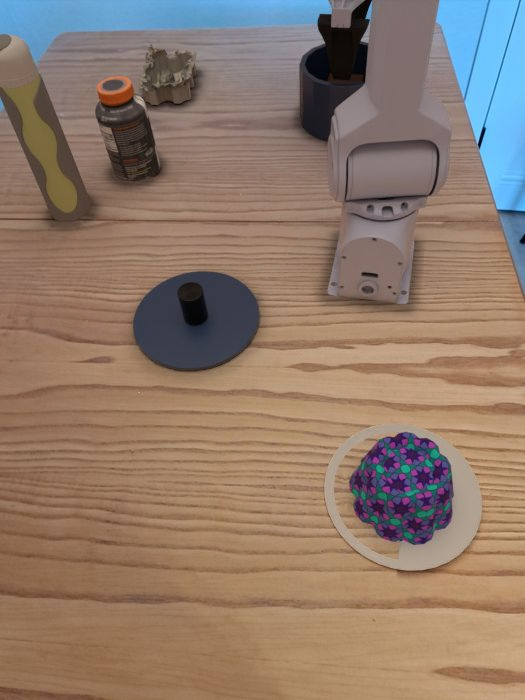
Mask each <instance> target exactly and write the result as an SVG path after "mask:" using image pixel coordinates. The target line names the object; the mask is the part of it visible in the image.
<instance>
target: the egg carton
mask: <svg viewBox="0 0 525 700" xmlns="http://www.w3.org/2000/svg"><path fill="white" fill-rule="evenodd" d="M174 54H175V55H168V53H167V51H166V49H165V48H162V47H159V48H158V47H157V48H155V47H153V44H149V45H148V47H147V49H146V52H145V57H144V58H145V62H144V64H143V65H142V70H141V74H140V77H139V90H140V91H141V90H142V92H143V95H144V102H145V103H149V104H150V105H151V106H159V105H160V104H161V103H164V102H173V104H177V105H178V104H182V103H184V102H186V101H190V100H191V99H192V92H191V88H194V86H195V82H194V77H195V76H197V68H196V62H197V61H196V60H197V51H195V50H193V51H189V50H187V49H186V50H185V52H181V51H179V50H175V52H174Z"/></svg>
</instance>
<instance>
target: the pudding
mask: <svg viewBox="0 0 525 700" xmlns="http://www.w3.org/2000/svg"><path fill="white" fill-rule="evenodd" d="M383 434H396V435H395V436H390V435H387V436H384V437H382V438H380V439H378V440H377V442H376V443H375V444H374V445H373V446H372V447H371V448H370V450H368V452H367V453H366V454H365V455H364V456H363V458H361V460H360V464H359V465H358V467H357V468H356V469H355V470H354V471H353V472H352V475H351V476H350V479H349V482H348V483H349V490H350V492H351V493H352V494H353V496H354V497H355V499H354V502H353V505H352V507H353V510H354V512H355V515H356V517H357V518H358V519H359V520H360V521H361V522H362V523H364V524H367V525H372V527H373V529H374V531H375V533H376V535H377V536H378V537H380V538H381V539H384V540H385V541H389V542H394V543H396V542H398V541H399V543H398V553H397V554H398V555H397V558H392V557H389V556H386V555H383V554H381V553H378V552H377V551H375V550H373V549H371V548H369V547H368V546H366V545H365V544H364V543H362V542H361V541H360V540H359V539H358V538H357V537H356V536H354V534H353V533H352V532H351V531H350V530H349V529H348V527H347V525H346V524H345V522H344V521H343V519H342V517H341V515H340V512H339V510H338V507H337V503H336V499H335V479H336V476H337V474H338V473H337V472H338V469H339V467H340V465H341V463H342V461H343V459H344V458H345V457H346V455H347V454H348V453H349V452H350V451H351V450H352V449H354V447H355V446H357V445H358V444H360V443H362V442H363V441H365V440H367V439H369V438H373V437H375V436H378V435H383ZM325 471H326V472H325V475H324V483H323V492H324V493H323V495H324V502H325V506H326V510H327V513H328V515H329V517H330V519H331V522H332V524H333V526H334V528H335V529H336V530H337V532H338V533H339V534H340V537H341V538H342V539H344V541H346V543H347V544H348V545H349V546H350V547H351V548H352V549H354V550H355V551H356V552H357V553H359V554H360V555H362V556H363V557H365V558H366V559H368V560H370V561H372V562H374V563H376V564H378V565H381V566H383V567H387V568H390V569H395V570H400V571H401V570H402V571H424V570H430V569H434V568H437V567H441V566H442V565H445V564H447V563H449V562H451V561H453V560H454V559H456V557H458V556H460V555H461V554H462V553H463V552H464V551H465V550H466V549H467V548H468V547H469V545H470V544H471V543H472V541H473V540H474V537H476V534H477V532H478V529H479V526H480V524H481V521H482V514H483V513H482V512H483V498H482V492H481V491H482V490H481V487H480V483H479V480H478V478H477V476H476V474H475V471H474V469H473V468H472V467H471V465H470V463H469V461H468V460H467V458H466V457H464V455H463V454H462V453H461V452H460V451H459V450H458V449H457V448H456V447H455V446H454V445H452V444H451V442H449V441H448V440H447V439H445V438H444V437H442V436H440V435H438V434H437V433H435V432H432V431H431V430H428V429H426V428H423V427H421V426H417V425H413V424H408V423H398V422H395V423H394V422H393V423H381V424H376V425H371V426H369V427H366V428H364V429H361V430H359V431H357V432H355V433H354V434H352V435H350V436H349V437H348V438H347V439H346V440H344V441H343V442H342V443H341V444H340V445H339V446H338V447H337V449H335V451H334V453H333V455H332V456H331V459H330V461H329V463H328V464H327V467H326V470H325Z"/></svg>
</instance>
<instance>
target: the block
mask: <svg viewBox="0 0 525 700" xmlns="http://www.w3.org/2000/svg"><path fill="white" fill-rule="evenodd" d="M363 77H364V75H356V74H352V75H351V77H350V80H337V79H333V77H332V73H330V75H329V78H328V81H327V82H330V83H341V84H352V83H359V82H363Z"/></svg>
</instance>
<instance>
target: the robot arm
mask: <svg viewBox="0 0 525 700" xmlns="http://www.w3.org/2000/svg"><path fill="white" fill-rule="evenodd" d="M327 1H328V4H329V5H330V8H331V13H319V15H318V18H317V20H316V21H317V23H316V24H317V25H316V26H317V29H318V32H319V34H320V36H321V37H322V40H323V42H324V44H325V45H326V48H327V52H328V57H329V63H330V69H331V73H332V77H333V79H337V80H350V77H351V75H352V71H353V67H354V63H355V58H356V53H357V49H358V47H359V44H360V41H362V40H363V37H364V35H365V34H366V32H367V30H368V28H369V33H368V43H369V44H368V55H367V67H366V79H365V84H364V85H363V86H362V87H361V88H360V89H359V90H358V91H356V92H355V93H354V94H352V95H351V96H350V97H349V98H347V99H346V100H345V101H343V102H342V103H341V104H340V105H339V106H338V107H336V109H335V110H334V116H333V117H332V119H331V132H330V135H329V138H328V141H327V157H326V158H327V181H328V189H329V195H330V196H331V198H332V199H334V200H335V202H336V203H341V210H340V211H341V212H340V225H339V226H340V227H339V229H340V230H339V235H338V241H337V245H336V250H335V254H334V258H333V263H332V268H331V273H330V276H329V281H328V286H327V290H326V291H327V294H328V295H330V296H335V297H343V298H351V299H358V300H359V299H360V300H366V301H367V300H368V301H375V302H384V303H391V304H399V305H406V304H408V303H409V298H410V288H411V279H412V269H413V260H414V250H415V240H414V236H415V231H416V226H417V221H418V216H419V211H420V209H424V208H426V207H427V203H428V197H435V196H437V195H438V194H439V193H440V192H441V191H442V189H443V188H444V187H445V184H446V183H447V180H448V175H449V170H450V160H451V159H450V158H451V157H450V156H451V154H450V153H451V150H450V148H451V142H452V141H451V140H452V136H453V126H452V121H451V119H450V116H449V113H448V111H447V108H446V106H445V104H444V103H443V102H442V101H441V99H439V98H438V97H437V96H435V95H434V94H433V93H432V92H430V91H429V90H428V89H426V88H425V86H426V80H427V75H428V70H429V62H430V57H431V51H432V45H433V41H434V34H435V28H436V23H437V17H438V11H439V6H440V0H327ZM370 6H371V11H370V18H367V16H368V12H369V9H370ZM334 283H335V285H332V284H334ZM403 292H405V294H403Z"/></svg>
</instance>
